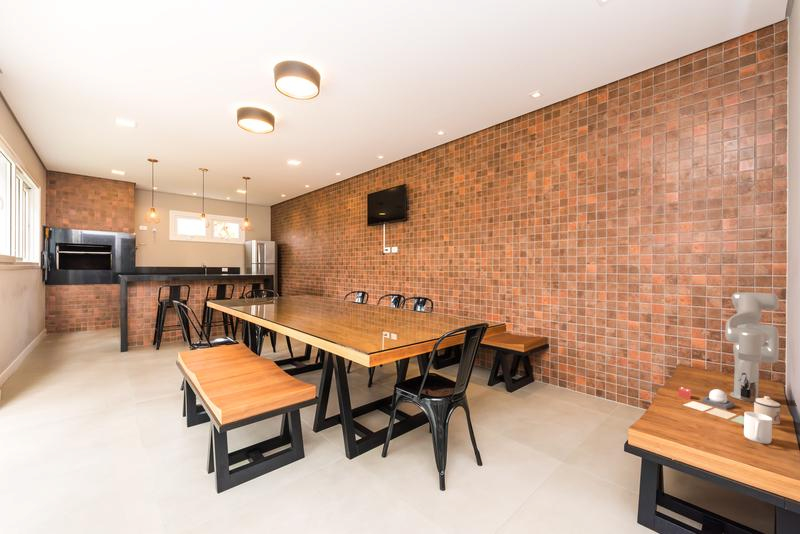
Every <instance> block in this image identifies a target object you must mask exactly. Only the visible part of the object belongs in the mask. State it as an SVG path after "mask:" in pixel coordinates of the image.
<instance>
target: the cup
mask: <svg viewBox="0 0 800 534" xmlns="http://www.w3.org/2000/svg"><path fill="white" fill-rule="evenodd" d="M743 414H744V424H743V426H744V427H743V436H744V437H745V438H746V439H748V440H750V441H753V442H756V443H759V444H766V445H769V444H771V443H772V434H773V424H772V418H771V417H769V416H766V415H764V414H760V413H756V412H754V411H744V413H743Z"/></svg>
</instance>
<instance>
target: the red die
mask: <svg viewBox="0 0 800 534" xmlns="http://www.w3.org/2000/svg"><path fill="white" fill-rule="evenodd" d="M678 397H679V398H684V399H688V400H691V399H692V389H690V388H685V387H683V386H682V387H679V388H678Z"/></svg>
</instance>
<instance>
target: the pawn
mask: <svg viewBox="0 0 800 534" xmlns="http://www.w3.org/2000/svg"><path fill="white" fill-rule="evenodd" d="M745 384H746V383H745ZM747 386H748V384H747ZM749 390H751V393H750V398H746V397H742V396H740V399H742V400H741V401H743V400H745V401H744V402H748V401H749V403H754V402H756V388H754V385H753V384H752V383H750V389H749Z"/></svg>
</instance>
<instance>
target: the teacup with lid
mask: <svg viewBox="0 0 800 534" xmlns="http://www.w3.org/2000/svg"><path fill="white" fill-rule="evenodd" d="M781 408H782V405H781V404H780V403H779V402H778V401H775V400H773V399H772V398H771V397H770V396H768V395H767V396H766V395H764V397H759V398H756V402H753V412H756V413H760V414H764V415H766V416H769V417H771V418H772V425H775V426H776V425H780V424H781Z"/></svg>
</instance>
